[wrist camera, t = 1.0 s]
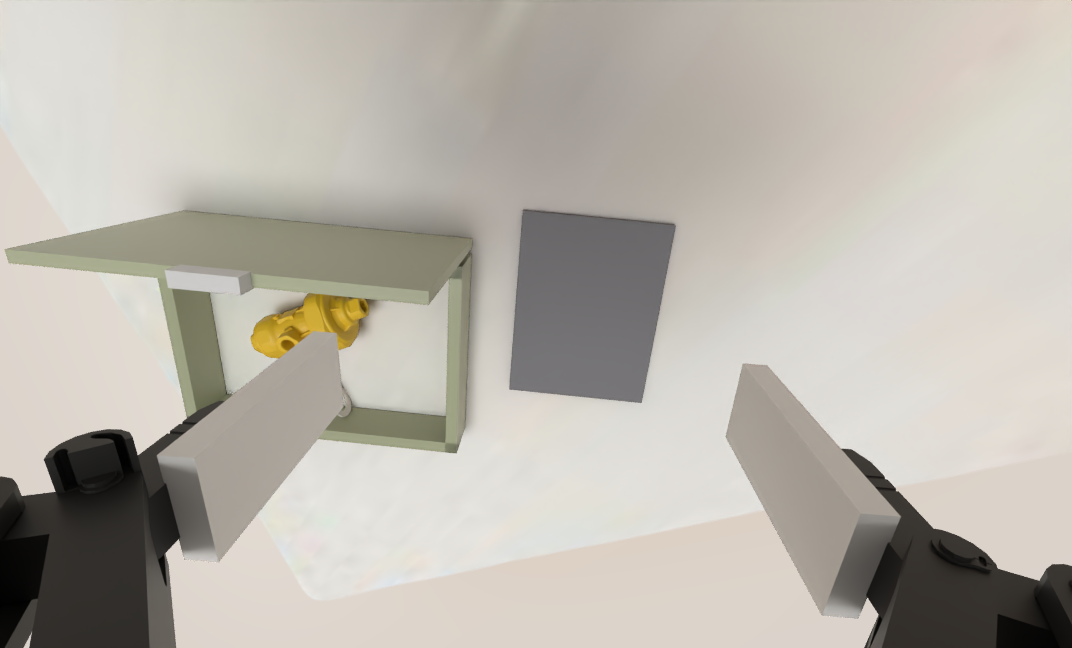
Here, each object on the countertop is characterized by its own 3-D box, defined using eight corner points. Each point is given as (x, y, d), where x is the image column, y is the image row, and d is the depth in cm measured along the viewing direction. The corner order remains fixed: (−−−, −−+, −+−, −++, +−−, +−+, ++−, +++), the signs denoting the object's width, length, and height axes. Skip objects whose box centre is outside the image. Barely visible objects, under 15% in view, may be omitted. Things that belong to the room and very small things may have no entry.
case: (183, 209, 41) (-18, 252, 27) (472, 237, 40) (423, 295, 26) (217, 402, 47) (72, 517, 33) (464, 427, 47) (423, 554, 33)
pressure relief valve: (256, 302, 43) (357, 265, 41) (331, 402, 49) (422, 373, 47) (222, 336, 38) (335, 295, 36) (310, 442, 44) (411, 411, 42)
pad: (523, 209, 39) (522, 211, 39) (674, 224, 39) (675, 225, 38) (509, 386, 45) (509, 389, 45) (640, 399, 45) (641, 402, 44)
